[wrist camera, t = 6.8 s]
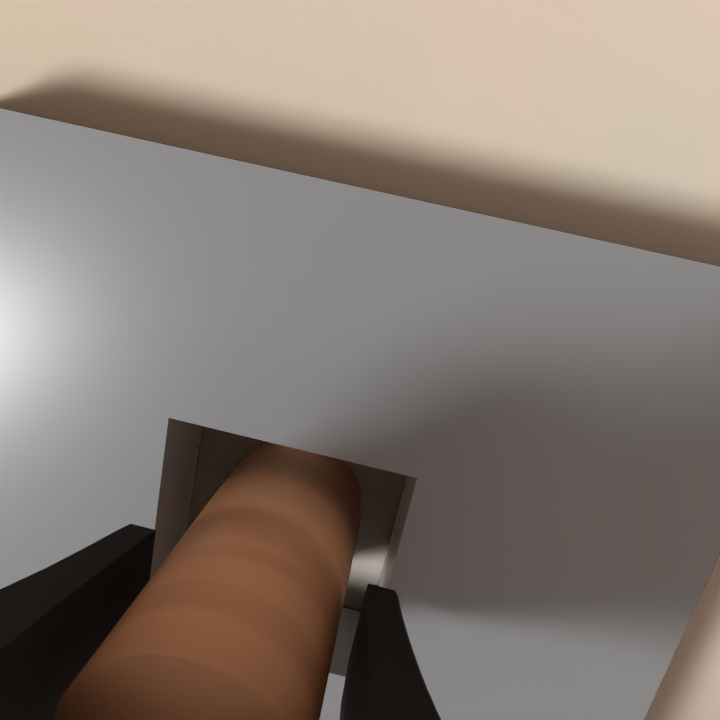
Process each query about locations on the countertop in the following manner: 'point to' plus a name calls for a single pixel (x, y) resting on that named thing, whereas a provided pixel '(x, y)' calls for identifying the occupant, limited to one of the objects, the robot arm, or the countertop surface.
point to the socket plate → (370, 401)
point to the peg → (236, 603)
